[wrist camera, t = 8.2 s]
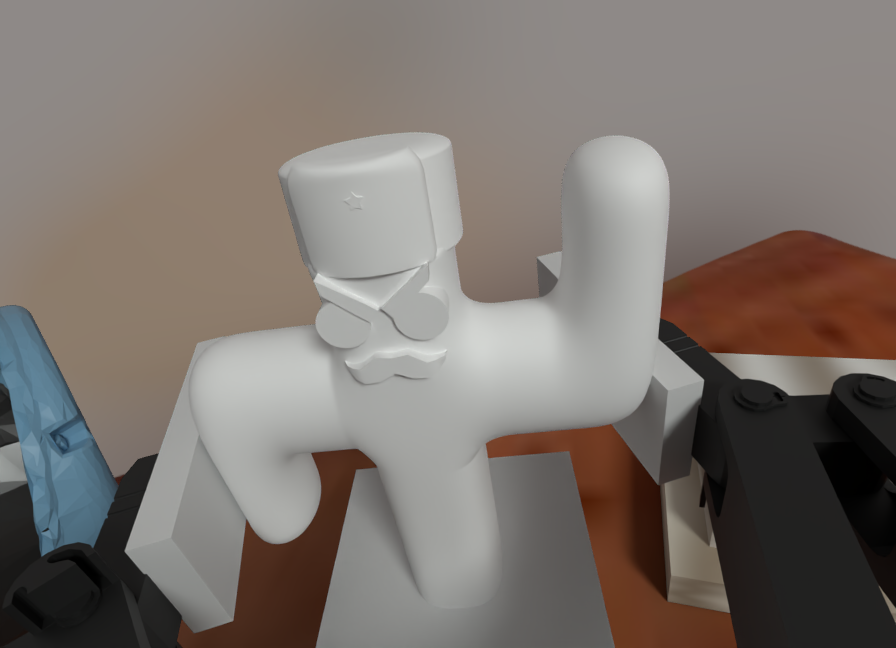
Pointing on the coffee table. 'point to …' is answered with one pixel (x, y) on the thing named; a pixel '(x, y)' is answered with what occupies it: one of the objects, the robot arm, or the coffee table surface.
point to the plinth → (691, 549)
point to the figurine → (442, 394)
